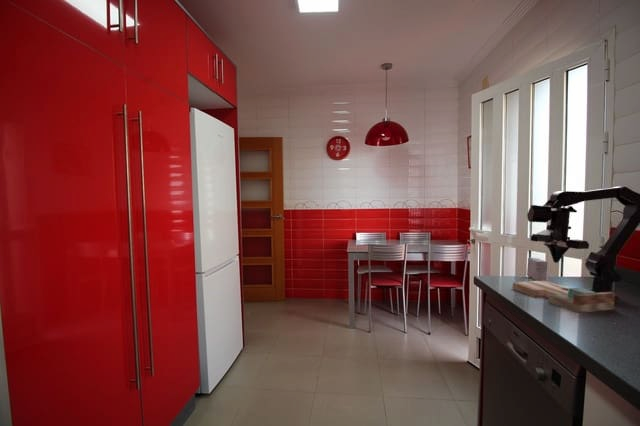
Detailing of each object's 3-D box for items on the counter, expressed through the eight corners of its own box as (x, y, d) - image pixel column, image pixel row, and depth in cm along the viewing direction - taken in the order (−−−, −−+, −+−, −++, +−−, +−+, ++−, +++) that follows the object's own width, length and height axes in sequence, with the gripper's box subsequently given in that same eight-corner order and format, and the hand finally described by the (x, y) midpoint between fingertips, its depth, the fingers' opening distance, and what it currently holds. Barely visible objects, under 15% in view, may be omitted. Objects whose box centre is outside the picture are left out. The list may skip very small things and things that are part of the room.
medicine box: (546, 281, 130) (548, 262, 130) (534, 280, 131) (536, 261, 131) (537, 276, 138) (538, 258, 137) (526, 275, 139) (527, 257, 138)
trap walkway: (543, 286, 123) (544, 273, 123) (613, 309, 100) (615, 293, 99) (512, 288, 119) (513, 275, 119) (577, 312, 96) (578, 296, 96)
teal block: (579, 296, 105) (580, 287, 105) (595, 301, 100) (595, 292, 100) (567, 296, 104) (568, 288, 103) (583, 302, 99) (584, 293, 99)
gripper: (521, 220, 124) (518, 257, 125) (568, 226, 106) (564, 269, 107) (542, 220, 127) (539, 257, 128) (592, 226, 109) (587, 268, 110)
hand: (555, 262), depth 118 cm, fingers closed
